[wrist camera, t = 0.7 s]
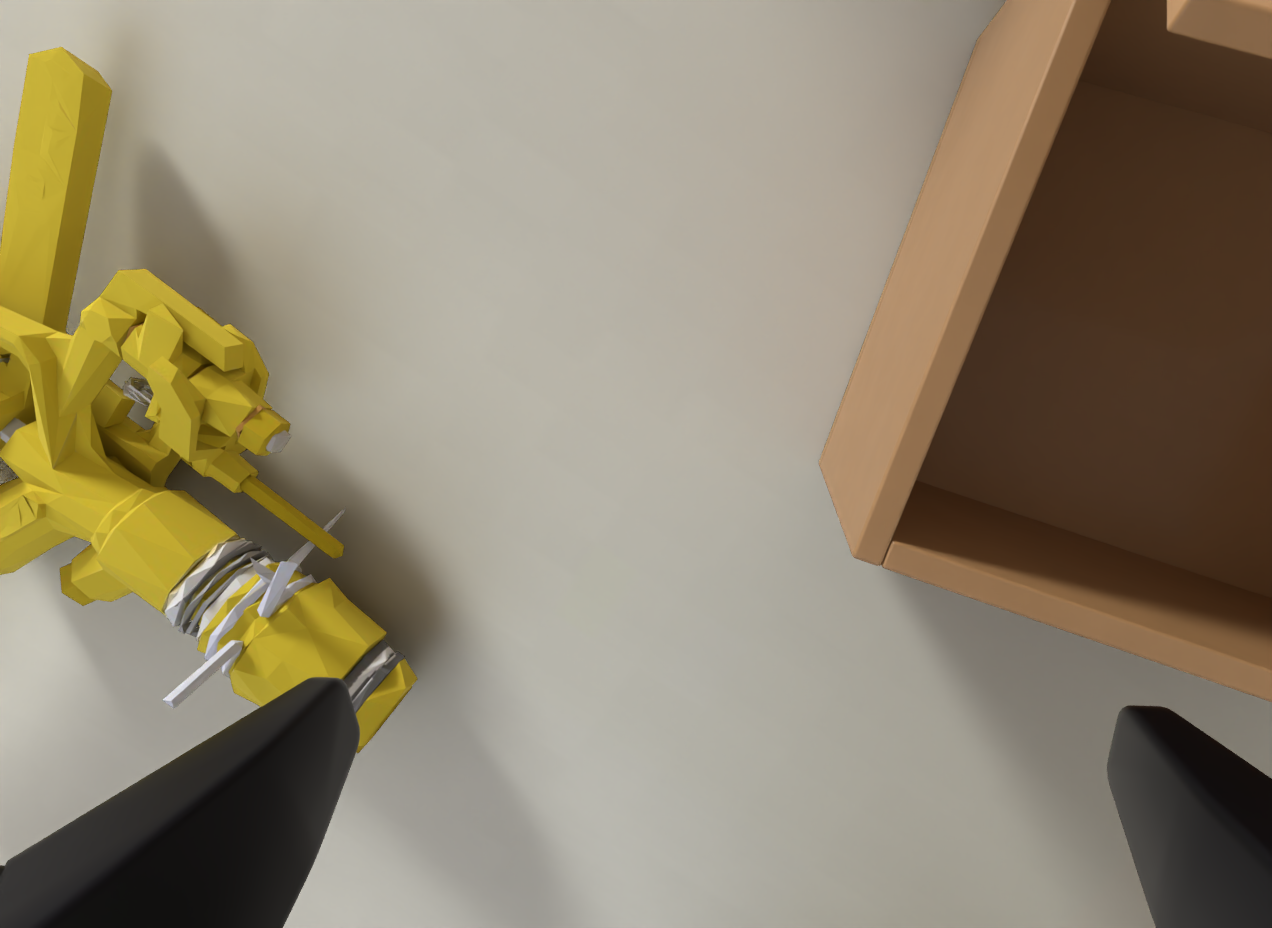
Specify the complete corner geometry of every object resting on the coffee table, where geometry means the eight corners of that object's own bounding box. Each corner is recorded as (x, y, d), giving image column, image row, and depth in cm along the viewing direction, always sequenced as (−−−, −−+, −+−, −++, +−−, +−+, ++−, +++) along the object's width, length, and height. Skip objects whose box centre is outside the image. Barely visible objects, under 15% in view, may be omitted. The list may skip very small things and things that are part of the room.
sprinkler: (597, 442, 22) (24, 0, 21) (522, 520, 16) (-284, -97, 15) (266, 885, 29) (-166, 561, 29) (125, 1057, 23) (-424, 648, 23)
